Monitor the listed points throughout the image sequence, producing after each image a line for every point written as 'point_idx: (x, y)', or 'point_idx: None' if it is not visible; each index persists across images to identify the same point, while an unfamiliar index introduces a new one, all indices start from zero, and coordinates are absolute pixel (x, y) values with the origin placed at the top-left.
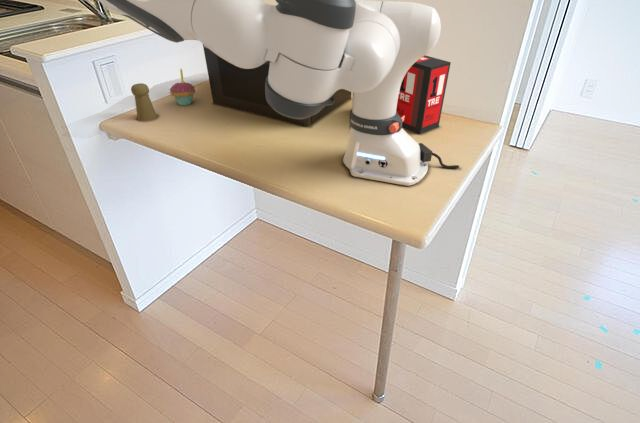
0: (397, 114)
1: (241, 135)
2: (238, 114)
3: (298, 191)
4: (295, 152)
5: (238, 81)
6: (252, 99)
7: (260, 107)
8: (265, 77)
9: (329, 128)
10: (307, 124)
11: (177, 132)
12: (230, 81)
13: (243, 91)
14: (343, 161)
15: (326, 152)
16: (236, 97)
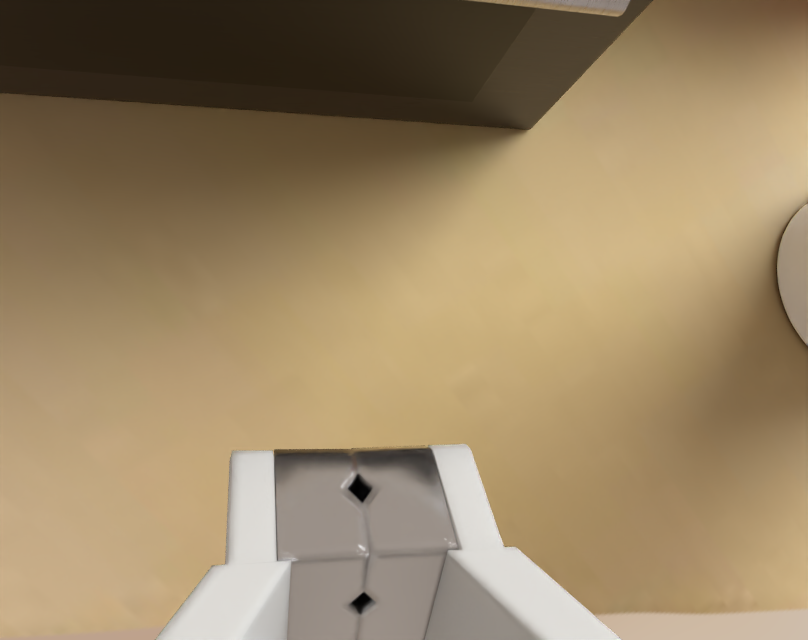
0: None
1: (329, 343)
2: (147, 149)
3: (793, 596)
4: (620, 357)
5: (106, 17)
6: (216, 74)
7: (265, 92)
8: (340, 4)
9: (603, 101)
10: (529, 125)
11: (6, 490)
12: (33, 16)
13: (149, 51)
14: (799, 335)
15: (709, 296)
16: (92, 70)
